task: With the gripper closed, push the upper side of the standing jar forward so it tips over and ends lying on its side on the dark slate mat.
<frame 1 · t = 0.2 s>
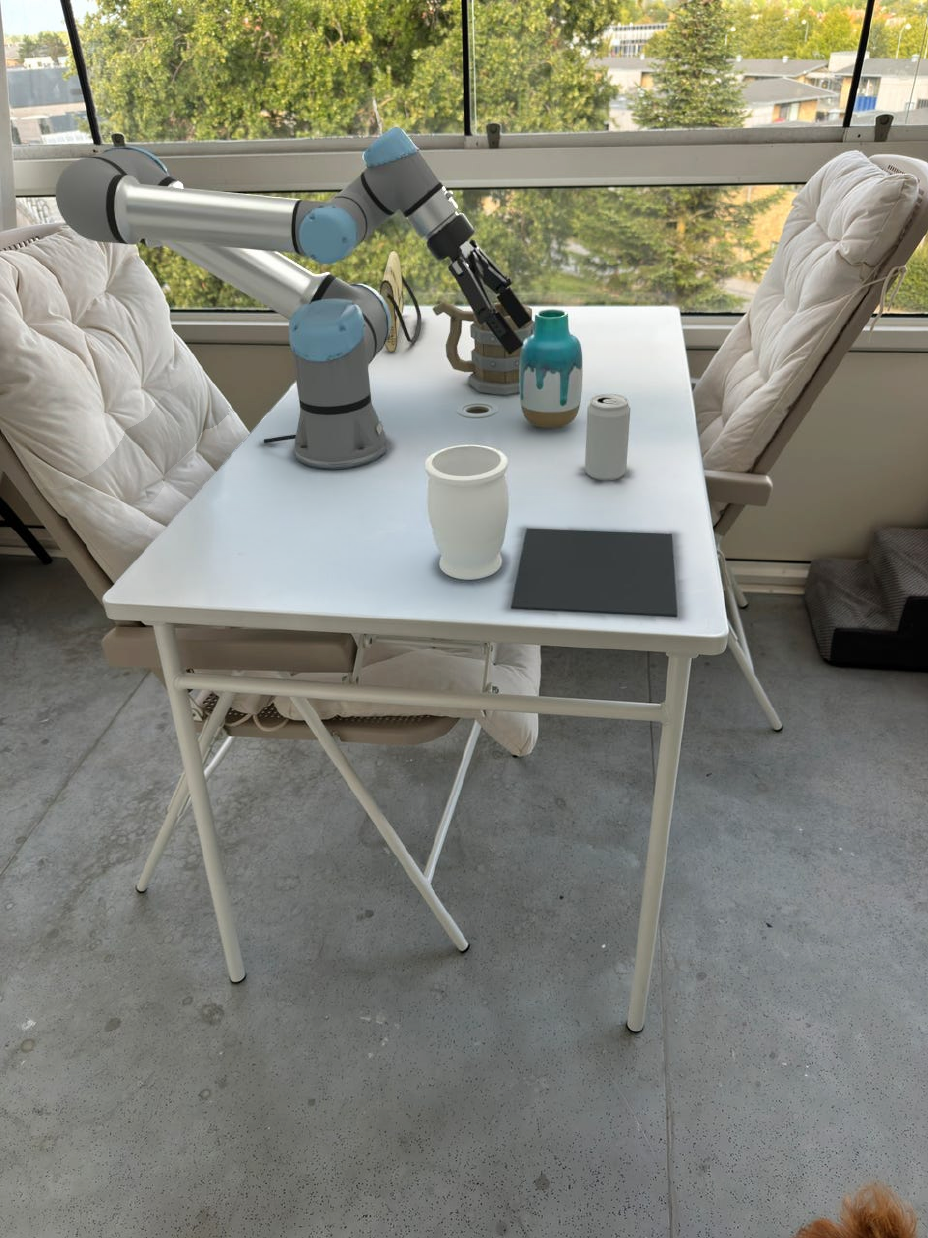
hand: (521, 336, 154), 15 cm above the table, tool tilted 35°, fingers open, 13 cm apart
jar: (470, 565, 124), on the table
tankard: (486, 382, 181), on the table
beverage can: (605, 474, 145), on the table
vase: (550, 425, 162), on the table
clutch purse: (404, 333, 209), on the table
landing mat: (595, 570, 121), on the table
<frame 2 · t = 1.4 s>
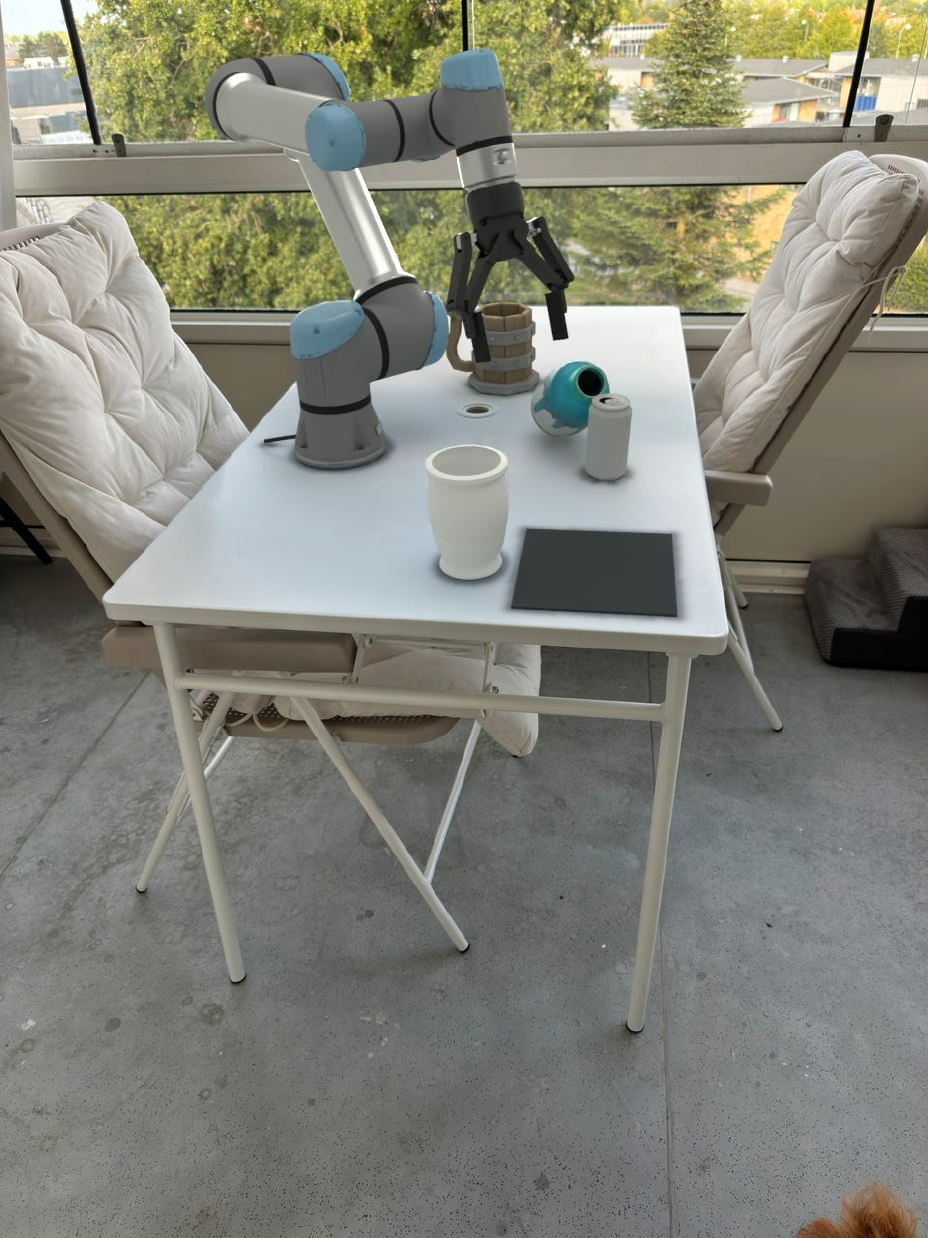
hand: (523, 350, 129), 21 cm above the table, tool tilted 15°, fingers open, 13 cm apart
beverage can: (605, 474, 145), on the table, touching vase
vase: (553, 412, 159), point 3 cm above the table, touching beverage can
everything else where it was.
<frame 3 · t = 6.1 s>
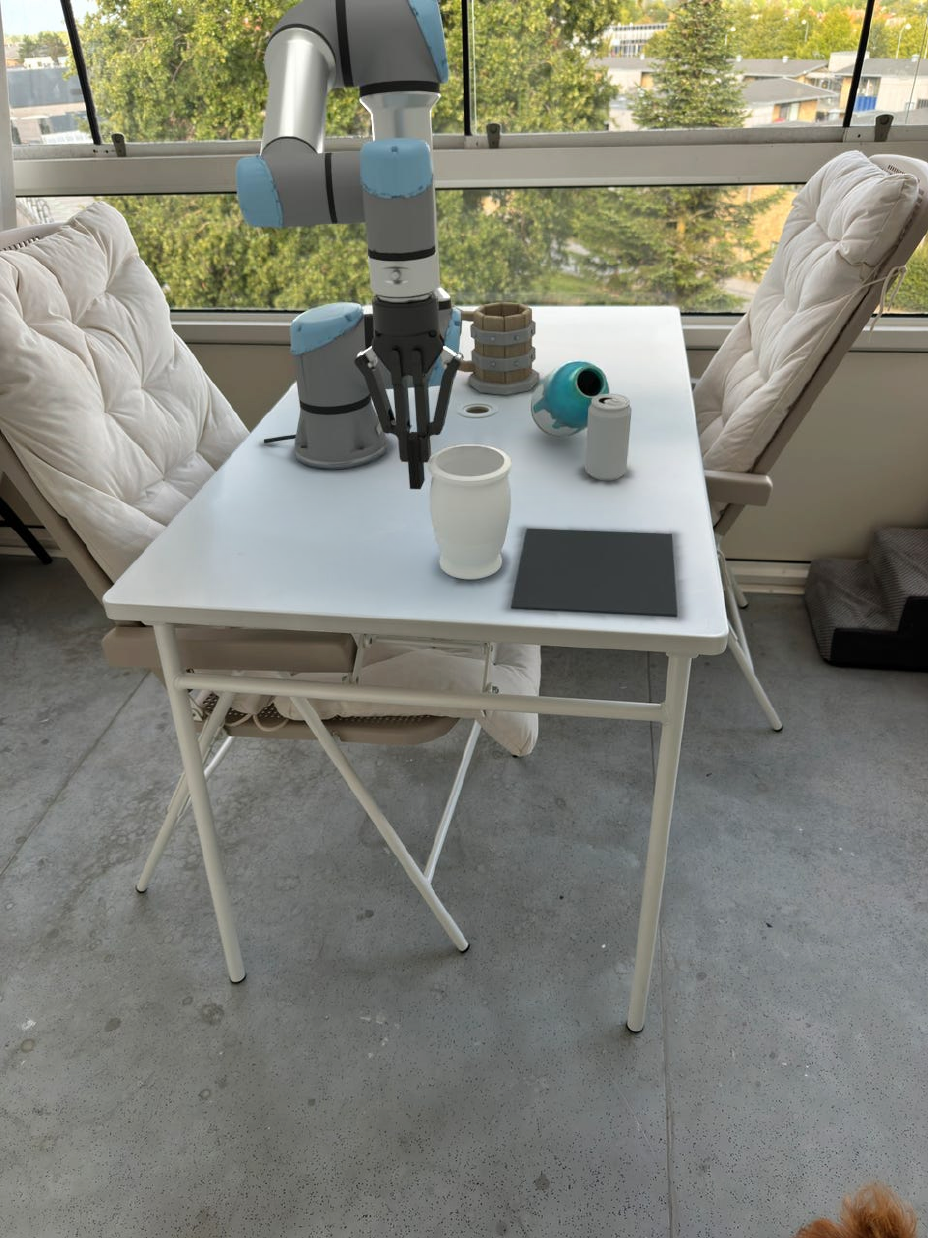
hand: (417, 484, 118), 12 cm above the table, tool pointing down, fingers closed
jar: (470, 565, 124), on the table, touching gripper
everything else where it was.
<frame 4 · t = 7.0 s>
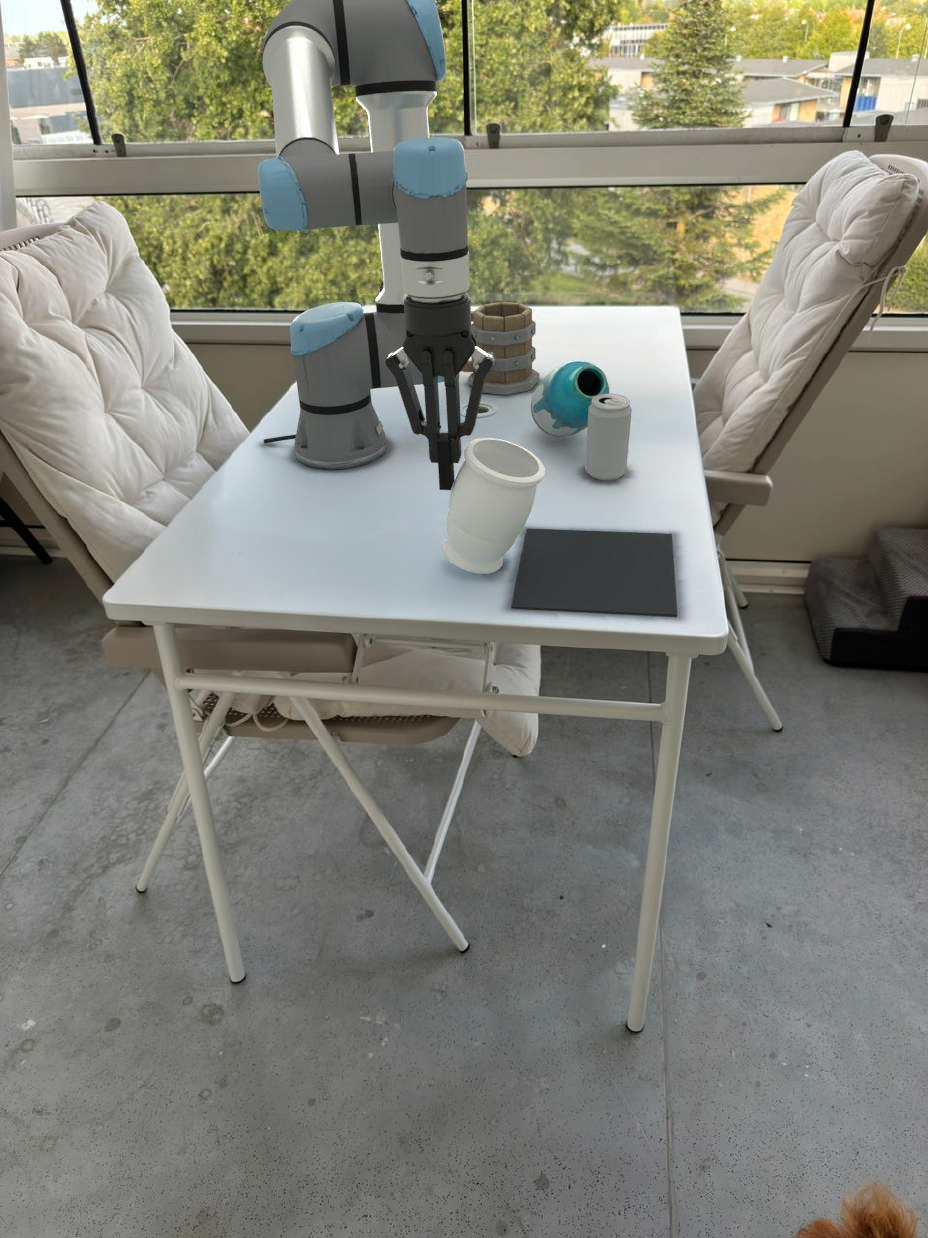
hand: (447, 485, 118), 12 cm above the table, tool pointing down, fingers closed
jar: (471, 557, 123), point 1 cm above the table, touching gripper
everything else where it was.
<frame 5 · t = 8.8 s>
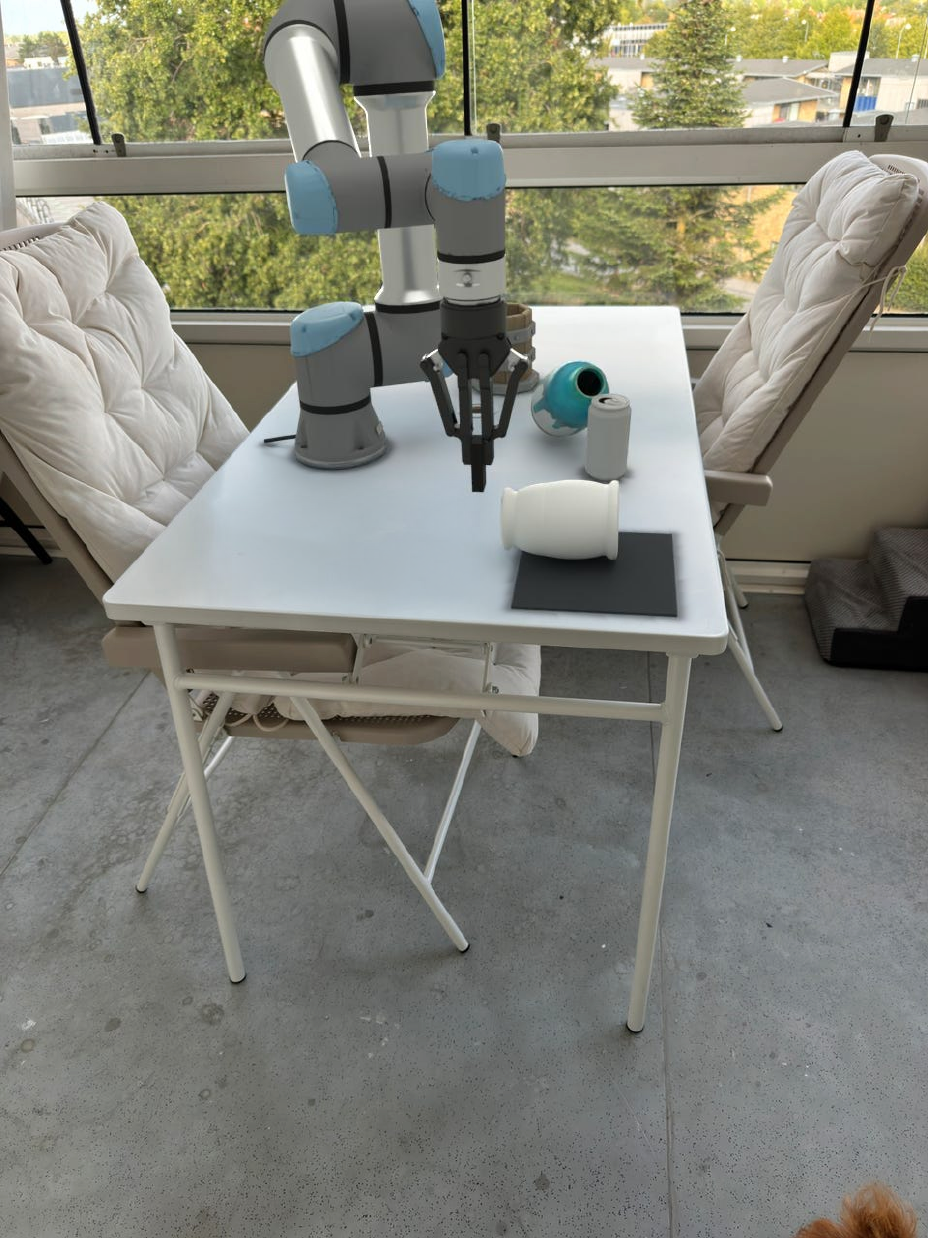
hand: (479, 487, 117), 11 cm above the table, tool pointing down, fingers closed
jar: (501, 518, 123), point 5 cm above the table, touching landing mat
everything else where it was.
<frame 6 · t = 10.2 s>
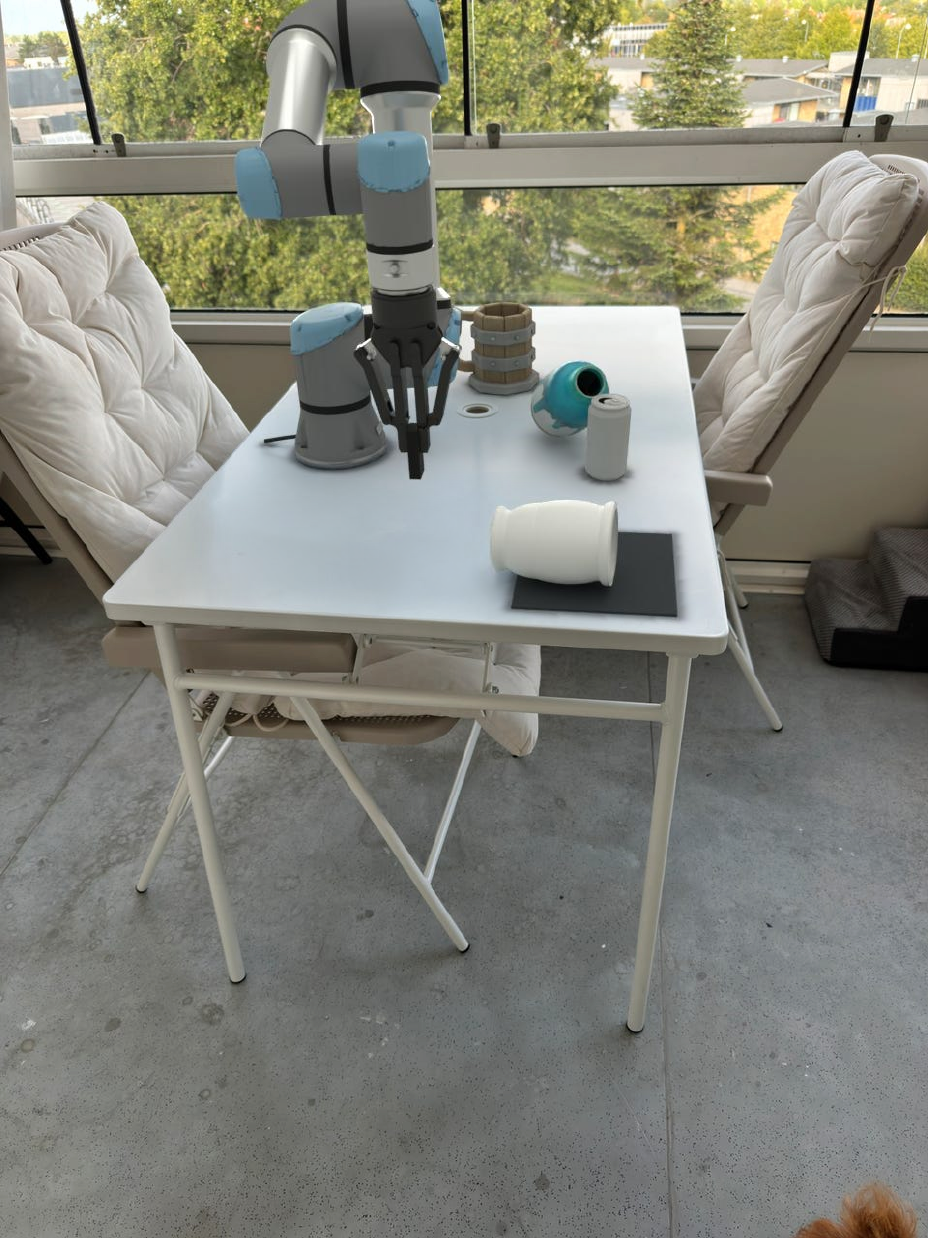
hand: (417, 474, 119), 12 cm above the table, tool pointing down, fingers closed
jar: (494, 539, 119), point 5 cm above the table, touching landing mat
everything else where it was.
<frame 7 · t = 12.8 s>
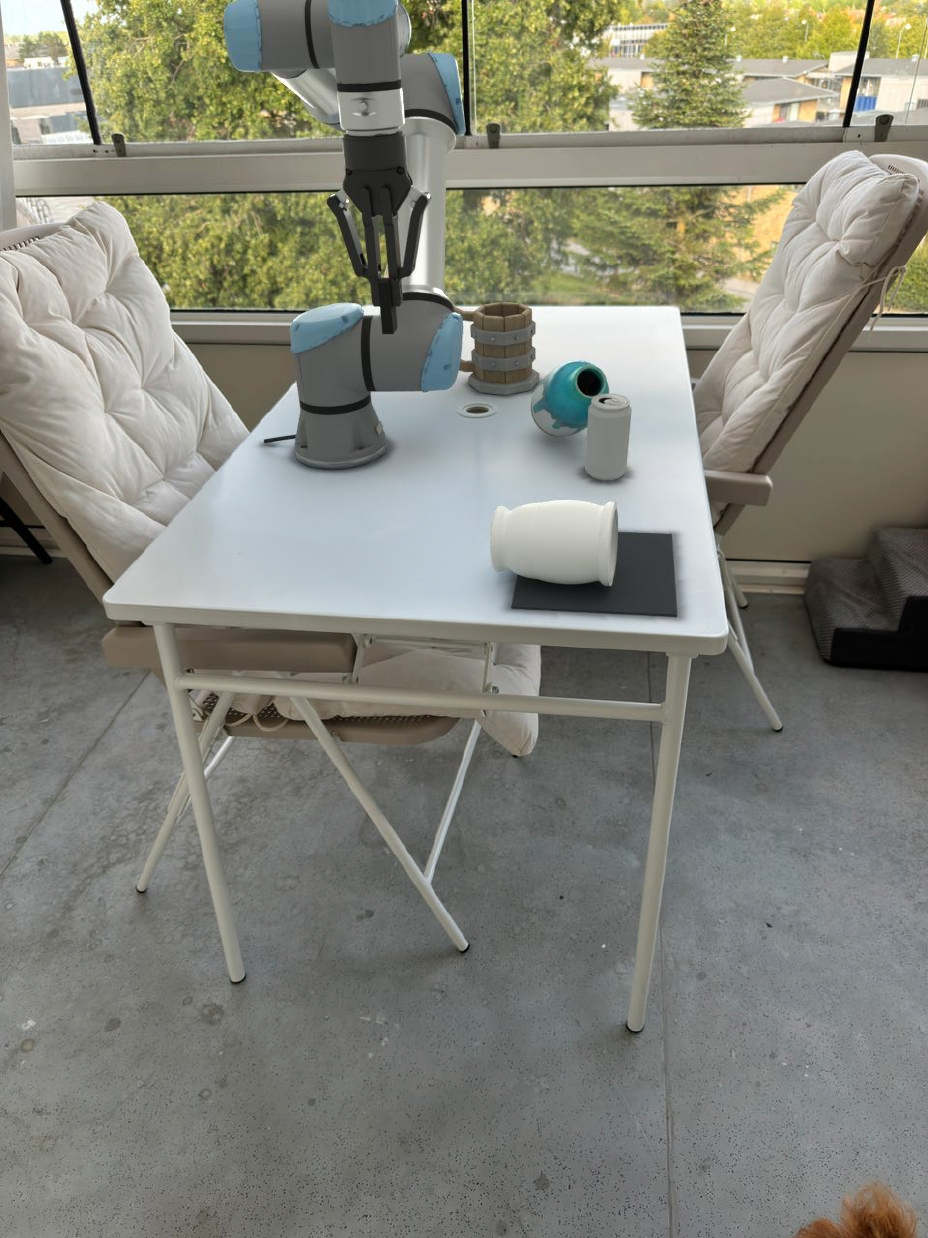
hand: (390, 330, 123), 26 cm above the table, tool pointing down, fingers closed
nothing on the table moved.
at the end: jar tilted 87°; jar inside the target area (7.7 cm from its centre), point 5.1 cm above the table; jar touching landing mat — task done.
